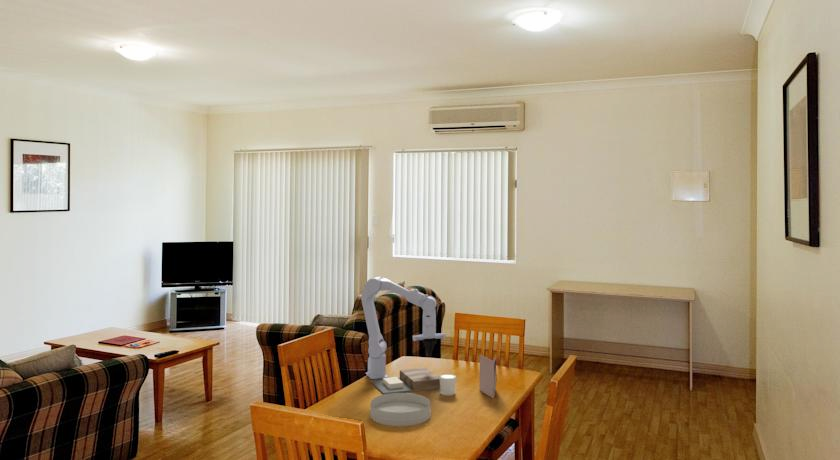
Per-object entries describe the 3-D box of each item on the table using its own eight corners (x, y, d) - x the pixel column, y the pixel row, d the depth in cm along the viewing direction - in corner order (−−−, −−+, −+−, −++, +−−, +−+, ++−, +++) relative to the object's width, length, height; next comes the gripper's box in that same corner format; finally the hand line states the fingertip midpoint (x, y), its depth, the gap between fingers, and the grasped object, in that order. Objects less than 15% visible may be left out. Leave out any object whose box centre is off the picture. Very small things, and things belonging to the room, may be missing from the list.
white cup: (456, 390, 250) (456, 374, 249) (455, 396, 243) (455, 378, 243) (439, 390, 250) (439, 373, 250) (438, 395, 244) (438, 378, 243)
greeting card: (495, 398, 240) (496, 361, 239) (476, 397, 242) (477, 360, 241) (497, 389, 251) (498, 354, 251) (479, 388, 253) (480, 353, 252)
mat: (371, 382, 261) (371, 380, 261) (398, 379, 266) (398, 377, 266) (383, 394, 244) (383, 393, 244) (412, 391, 249) (412, 389, 249)
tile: (396, 376, 260) (396, 381, 260) (382, 378, 258) (382, 382, 258) (403, 382, 252) (403, 387, 252) (389, 384, 250) (389, 389, 250)
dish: (397, 401, 237) (397, 388, 237) (443, 414, 223) (443, 400, 223) (357, 417, 220) (357, 403, 220) (403, 432, 206) (403, 417, 206)
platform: (399, 379, 266) (399, 369, 266) (425, 376, 270) (425, 367, 270) (413, 391, 249) (413, 381, 249) (441, 388, 253) (441, 378, 253)
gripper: (416, 327, 258) (416, 359, 258) (448, 325, 263) (448, 356, 263) (411, 324, 264) (411, 355, 265) (442, 322, 269) (441, 352, 270)
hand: (429, 355), depth 265 cm, fingers closed
